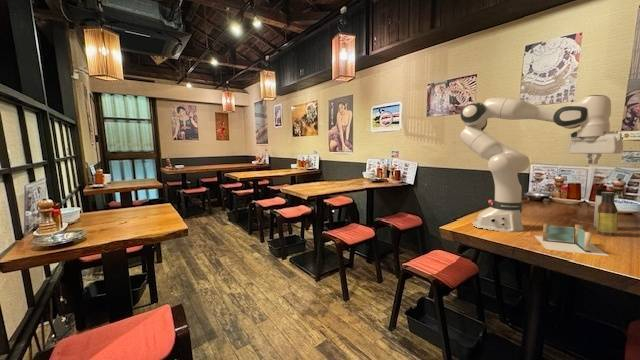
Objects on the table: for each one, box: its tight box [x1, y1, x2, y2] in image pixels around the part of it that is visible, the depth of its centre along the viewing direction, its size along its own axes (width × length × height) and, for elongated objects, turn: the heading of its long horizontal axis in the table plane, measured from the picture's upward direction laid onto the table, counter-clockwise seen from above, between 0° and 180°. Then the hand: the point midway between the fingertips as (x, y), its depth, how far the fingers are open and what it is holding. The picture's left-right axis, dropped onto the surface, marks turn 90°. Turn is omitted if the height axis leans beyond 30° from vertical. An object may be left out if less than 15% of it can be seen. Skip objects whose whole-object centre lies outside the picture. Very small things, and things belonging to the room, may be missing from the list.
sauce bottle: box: [596, 192, 619, 237], centre depth 118 cm, size 6×6×20 cm
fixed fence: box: [542, 222, 584, 245], centre depth 110 cm, size 13×2×8 cm, turn 62°
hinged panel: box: [577, 228, 592, 251], centre depth 102 cm, size 9×2×7 cm, turn 150°
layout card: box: [533, 235, 609, 257], centre depth 108 cm, size 18×19×1 cm
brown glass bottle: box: [592, 188, 616, 230], centre depth 127 cm, size 6×7×20 cm
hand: (592, 164), depth 115 cm, fingers closed
